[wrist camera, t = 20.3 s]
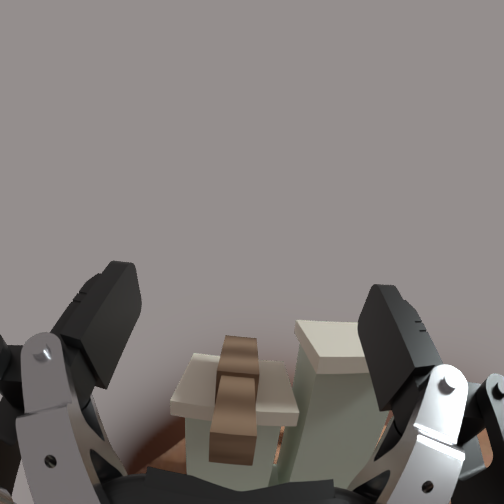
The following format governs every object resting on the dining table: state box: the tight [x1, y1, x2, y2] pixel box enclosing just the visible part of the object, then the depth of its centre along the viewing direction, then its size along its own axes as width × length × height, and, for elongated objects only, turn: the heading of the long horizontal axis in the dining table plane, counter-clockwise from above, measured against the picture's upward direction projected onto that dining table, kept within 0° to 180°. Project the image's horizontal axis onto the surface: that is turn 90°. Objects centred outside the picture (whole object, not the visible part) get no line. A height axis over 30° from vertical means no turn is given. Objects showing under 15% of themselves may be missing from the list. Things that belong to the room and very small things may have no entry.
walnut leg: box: [209, 335, 260, 466], centre depth 28 cm, size 22×4×4 cm, turn 1°
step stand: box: [170, 320, 389, 491], centre depth 34 cm, size 15×29×32 cm, turn 91°
